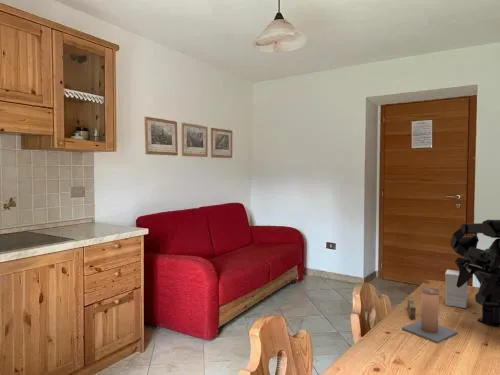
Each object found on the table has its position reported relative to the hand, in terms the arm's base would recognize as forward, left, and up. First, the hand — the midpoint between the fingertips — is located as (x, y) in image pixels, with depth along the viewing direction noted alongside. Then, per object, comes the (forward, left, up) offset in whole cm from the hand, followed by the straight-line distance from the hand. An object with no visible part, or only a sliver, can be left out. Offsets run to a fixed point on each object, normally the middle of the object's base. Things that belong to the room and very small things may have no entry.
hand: (469, 291), depth 118 cm
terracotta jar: (+10, -8, -13) cm, 18 cm away
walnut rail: (0, -20, -14) cm, 24 cm away
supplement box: (-23, -16, -14) cm, 31 cm away
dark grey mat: (+10, -8, -14) cm, 18 cm away
